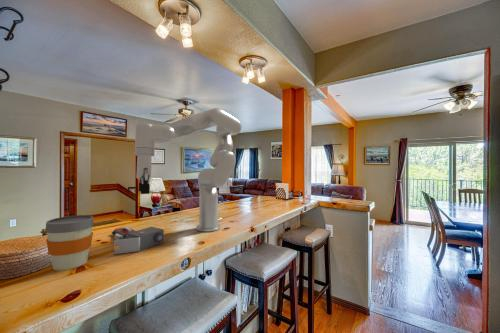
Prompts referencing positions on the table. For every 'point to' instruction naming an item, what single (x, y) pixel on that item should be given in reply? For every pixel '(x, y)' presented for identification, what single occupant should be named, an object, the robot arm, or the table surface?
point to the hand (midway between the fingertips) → (143, 192)
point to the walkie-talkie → (122, 232)
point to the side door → (126, 245)
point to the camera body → (148, 237)
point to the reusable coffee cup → (69, 240)
